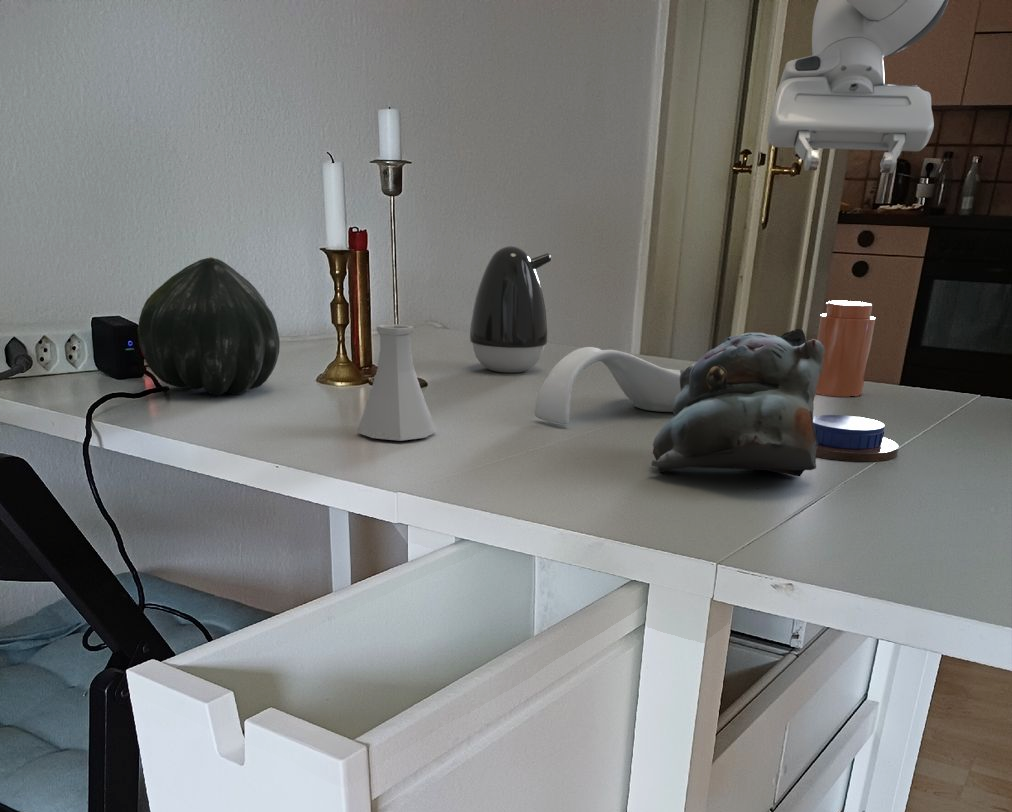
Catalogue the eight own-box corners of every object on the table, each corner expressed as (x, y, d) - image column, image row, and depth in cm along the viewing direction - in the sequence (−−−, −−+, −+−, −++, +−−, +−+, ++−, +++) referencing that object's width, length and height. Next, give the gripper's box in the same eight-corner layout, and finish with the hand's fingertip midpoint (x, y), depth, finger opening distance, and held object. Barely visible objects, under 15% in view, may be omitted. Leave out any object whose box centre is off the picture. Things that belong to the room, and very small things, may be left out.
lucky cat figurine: (618, 469, 88) (638, 313, 88) (700, 503, 96) (718, 360, 97) (769, 450, 77) (790, 272, 78) (846, 490, 85) (865, 329, 86)
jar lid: (792, 439, 97) (795, 420, 97) (829, 430, 102) (832, 411, 101) (859, 453, 93) (862, 433, 92) (894, 442, 98) (898, 423, 97)
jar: (850, 387, 130) (865, 301, 125) (870, 397, 124) (886, 306, 119) (801, 387, 129) (815, 299, 125) (819, 396, 124) (834, 305, 119)
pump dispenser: (557, 375, 132) (563, 249, 125) (479, 376, 129) (482, 247, 123) (534, 362, 141) (539, 244, 134) (461, 363, 138) (463, 243, 132)
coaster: (871, 438, 103) (873, 430, 102) (915, 462, 94) (916, 453, 93) (776, 436, 102) (777, 429, 102) (810, 461, 93) (811, 452, 93)
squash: (181, 326, 123) (138, 229, 109) (302, 337, 122) (274, 240, 108) (152, 422, 118) (103, 332, 104) (278, 434, 117) (245, 345, 103)
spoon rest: (659, 394, 122) (665, 331, 119) (738, 410, 114) (746, 344, 111) (512, 415, 108) (514, 345, 105) (590, 436, 100) (595, 360, 97)
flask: (449, 434, 99) (449, 326, 95) (402, 446, 93) (400, 333, 89) (392, 423, 103) (390, 319, 98) (343, 435, 97) (339, 325, 93)
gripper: (921, 108, 133) (926, 190, 129) (764, 103, 135) (763, 184, 130) (938, 65, 128) (944, 149, 123) (774, 61, 129) (773, 144, 125)
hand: (850, 167), depth 127 cm, fingers open, 8 cm apart
